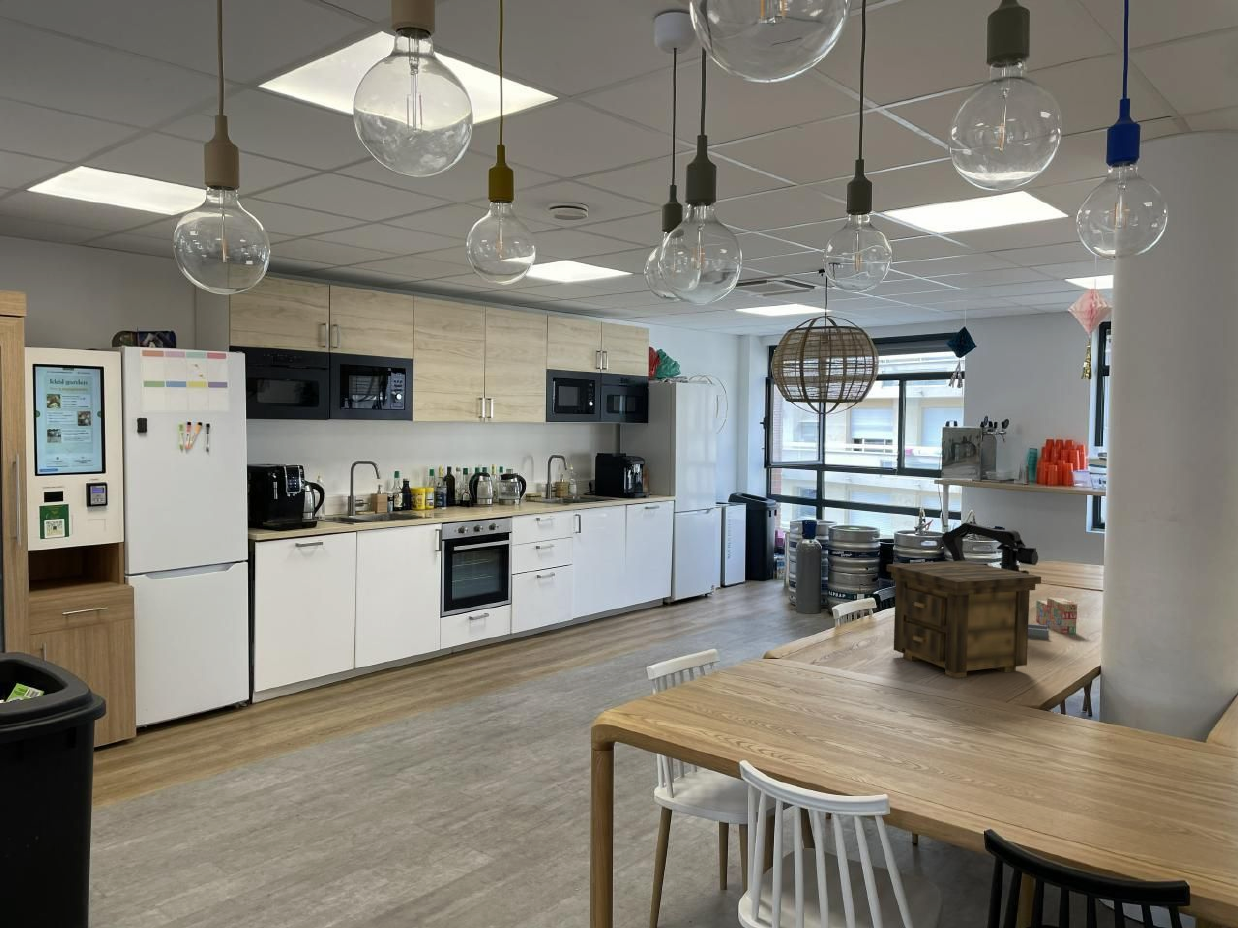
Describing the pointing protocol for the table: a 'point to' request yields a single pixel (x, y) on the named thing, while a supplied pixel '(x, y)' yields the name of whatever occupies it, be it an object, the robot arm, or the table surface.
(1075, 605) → the stack of blocks
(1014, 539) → the robot arm
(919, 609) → the wooden nightstand
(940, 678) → the table surface
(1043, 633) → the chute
